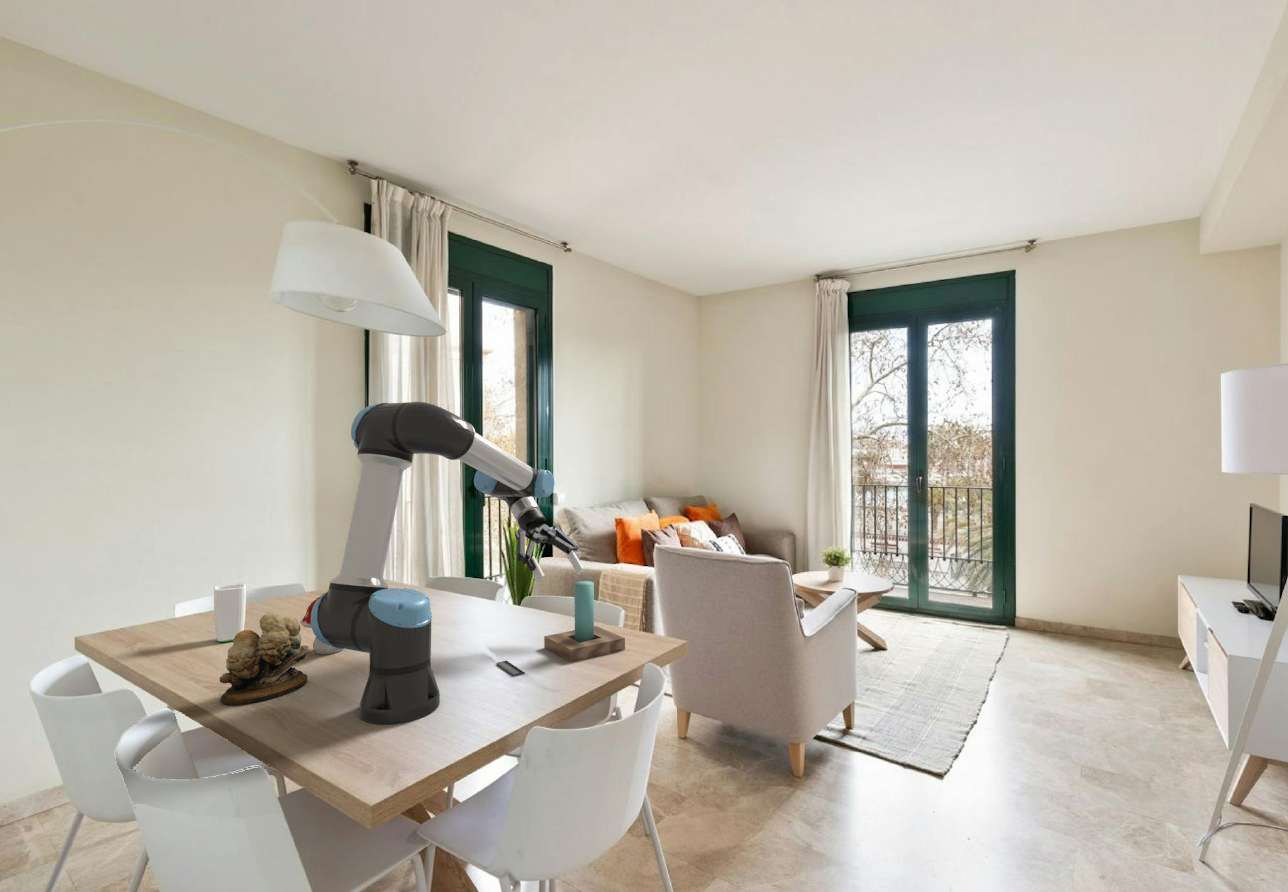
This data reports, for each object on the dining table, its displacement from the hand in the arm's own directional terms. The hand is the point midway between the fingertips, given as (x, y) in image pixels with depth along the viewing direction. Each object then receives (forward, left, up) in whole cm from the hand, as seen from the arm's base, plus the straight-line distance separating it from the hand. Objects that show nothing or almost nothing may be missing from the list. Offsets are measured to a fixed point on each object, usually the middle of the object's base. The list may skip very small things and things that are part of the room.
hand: (561, 575), depth 167 cm
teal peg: (+1, -10, -18) cm, 20 cm away
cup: (-73, +60, -19) cm, 96 cm away
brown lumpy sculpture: (-68, +10, -19) cm, 71 cm away
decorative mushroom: (-52, +32, -19) cm, 64 cm away
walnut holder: (+1, -10, -19) cm, 21 cm away
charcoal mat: (-16, -10, -19) cm, 26 cm away
